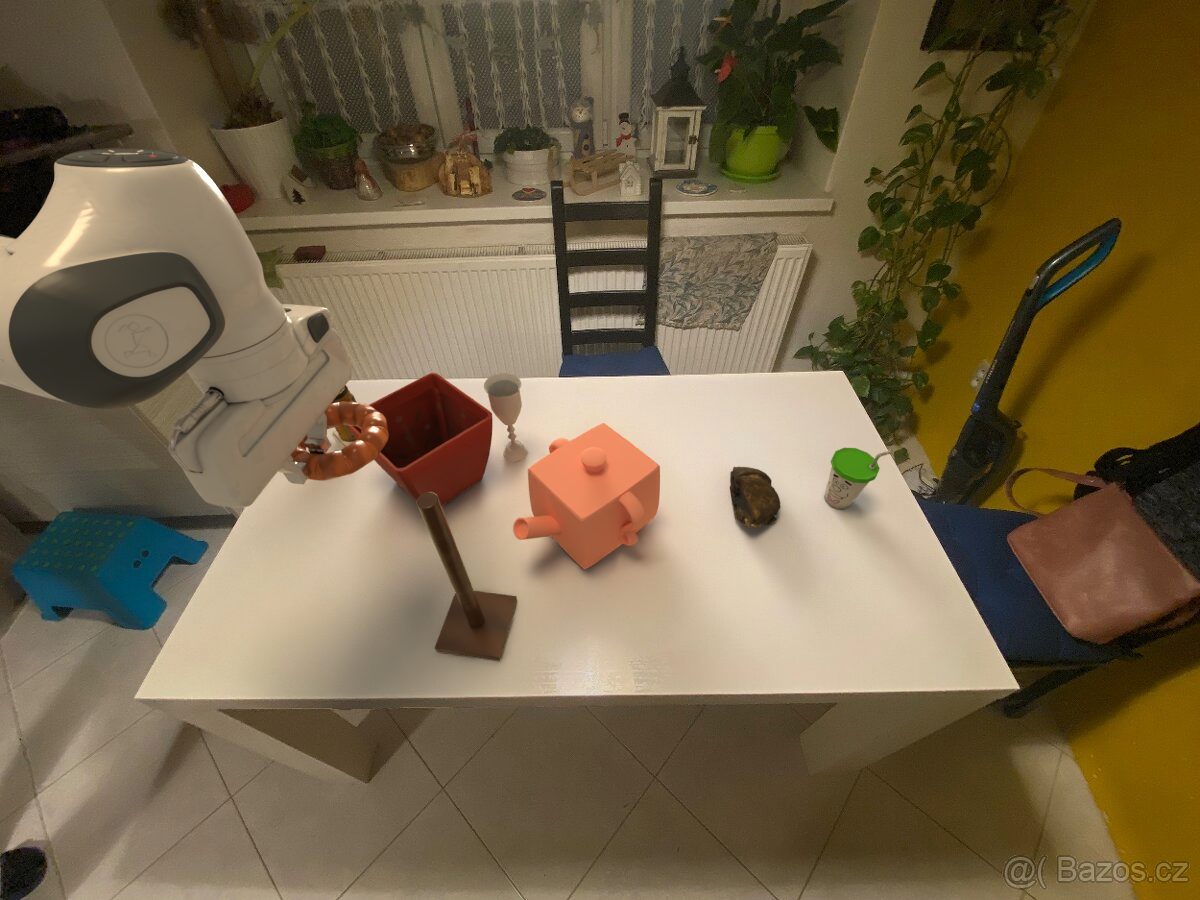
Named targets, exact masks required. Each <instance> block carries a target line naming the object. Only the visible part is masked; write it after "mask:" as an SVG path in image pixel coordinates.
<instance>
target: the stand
mask: <svg viewBox="0 0 1200 900" xmlns="http://www.w3.org/2000/svg"><path fill="white" fill-rule="evenodd" d="M415 502H416V501H415ZM416 506H417V509H418V511H419V513H420V515H421V517H422V520H423V523H424V524H425V526H426V529H427V531H428V534H429V536H430V538H431V540H432V543H433V545H434V547H435V550H436V552H437V554H438V557H439V559H440V561H441V563H442V566H443V568H444V571H445V572H446V575H447V576H448V579H449V582H450V584H451V586H452V588H453V591H454V594H453V598H452V600H451V603H450V606H449V609H448V611H447V613H446V616H445V618H444V621H443V624H442V627H441V629H440V632H439V635H438V638H437V640H436V642H435V645H434V650H435V651H436V653H442V654H447V655H455V656H461V657H469V658H475V659H482V660H489V661H495V662H501V660H502V657H503V654H504V649H505V646H506V642H507V639H508V636H509V631H510V628H511V625H512V621H513V617H514V614H515V611H516V607H517V603H518V598H517V595H511V594H505V593H504V594H503V593H497V592H488V591H480V590H474V588H473V584H472V582H471V579H470V577H469V574H468V572H467V569H466V567H465V564H464V561H463V559H462V556H461V553H460V551H459V549H458V546H457V543H456V540H455V538H454V535H453V532H452V530H451V527H450V525H449V523H448V519H447V517H446V514H445V512H444V509H443V506H441V504H440V501H439V498H438V496H437V495H436V494H435V493H433V492H427V493H424V494H422V495H420V496H419V497H418V499H417V502H416Z"/></svg>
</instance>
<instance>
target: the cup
mask: <svg viewBox="0 0 1200 900" xmlns="http://www.w3.org/2000/svg"><path fill="white" fill-rule="evenodd" d="M891 454H893V450H892V449H890V450H885V451H883V452H880V453H877V454H876V455H875V457H873V456H872V455H871V454H870V453H869V452H867V451H864V450H862V449H859V448H857V447H842V448H840V449H838V450H835V451H834V453H833V455H832V457H831V459H830V465H831V467H830V472H829V476H828V479H827V483H826V487H825V492H824V496H823V498H824V501H825V503H826V504H827V505H828V506H829V507H831V508H834V509H835V510H845V509H847V508H849V506H851V504H852V503H853V502H854V500H856V498H857V497H858V496H859V495H860V494H861V493H862V491H864V489H865V488H866V486H868V485H869V483H870V482H872V481H875V480H876V478H877V476H878V474H879V472H880V466H879V463H878V460H879V459H880V458H881V457H884V456H887V455H891Z"/></svg>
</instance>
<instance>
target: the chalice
mask: <svg viewBox="0 0 1200 900" xmlns="http://www.w3.org/2000/svg"><path fill="white" fill-rule="evenodd" d="M521 387H522V381H521V379H520V378H519V377H518V376H517V375H516V374H513V373H508V372H500V373H496V374H493V375H491V376H489V377H488V378H487V379H486V380H485V382H484V383H483V390H484V392H485V393H486V394H487V396H488V401H489V405H490V409H491V411H492V412H493V414H494V415H495V417H497V419H498V420H499V421H500V422H501V423H502V424H503V425H505V426H507V428H506V431H507V432H508V435H507V438H508V440H510V441H508V443H506V445H505V448H504V450H503V454H502V455H503V458H504V459H505V460H506V461H508V462H511V463H517V462H520V461H522V460H524V459H525V458H526V457H527V456H528V449H527V447H526V446H525V445H524V444H523V442H521V441H519V440H516V438H517V434H516V433H515V431H516V428H515V427H514V426H513V425H515V424H516V422H517V420H518V418H519V416H520V414H521V410H522V407H523V406H522V404H523V403H522V396H521V390H520V389H521Z"/></svg>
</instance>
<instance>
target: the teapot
mask: <svg viewBox="0 0 1200 900" xmlns="http://www.w3.org/2000/svg"><path fill="white" fill-rule="evenodd" d="M548 451H549V454H547V455H545V456H544V457H543V458H541V459H540V460H537V462H535V463H534V464H532V465H531V466H530V467H529V468H528V469H527V479H528V494H529V503H530V508H531V512H532V516H527V517H525V516H524V517H518V518H517V519H516V520H515V521H514V522H513V526H512V532H513V535H514V537H515V538H516V539H517V540H519V541H524V540H531V539H539V538H547V537H551V538H552V539H554V541H555V542H556V543H557V545H559V546H560V547H561V548H562V549H563V550H564V551H565V552H566V553H567V554H568V555H569V556H570V557H571V559H573V561H575V562H576V563H577V564H578V565H579V566H580V567H581V568H582V569H583V570H587V569H588V568H590V567H592V566H593V565H595V564H596V563H598V562H599V561H601V560H602V559H603V558H605V557H606V556H608V555H609V554H611V553H612V552H614V551H615V550H616V549H617V548H619V547H620V546H621V545H624V546H627V547H630V546H631V547H632V546H634V545H635V544H637V542H638V540H639V536H638V534H637V533H638V532H639V531H640V530H641V529H642V528H644V527H645V526H646V525H647V524H649V523H650V522H651V521H652V520H653V519H654V518H655V517H656V516H657V513H658V510H659V505H660V493H661V466H660V465H659V463H658V462H656V461H655V460H654V459H653V458H651V457H649V455H647V454H646V453H645V452H643V451H642V450H641V449H640V448H638V447H637V446H636V445H634V444H633V443H632V442H630V441H629V440H628V439H627V438H625V437H624V436H622V435H621V434H620V433H618V432H617V431H616V430H615V429H614V428H611V426H609V425H608V424H606V423H605V422H603V423H600V424H598V425H596V426H594V427H592V428H591V429H589V430H586V431H585V432H583V433H582V434H579V435H578V436H576V437H575V438H573V439H571V440H569V439H567V438H566V437H565V438H564V437H559V438H556V439H555V440H553V441H552V442H551V443H550V444H549V447H548Z"/></svg>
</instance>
